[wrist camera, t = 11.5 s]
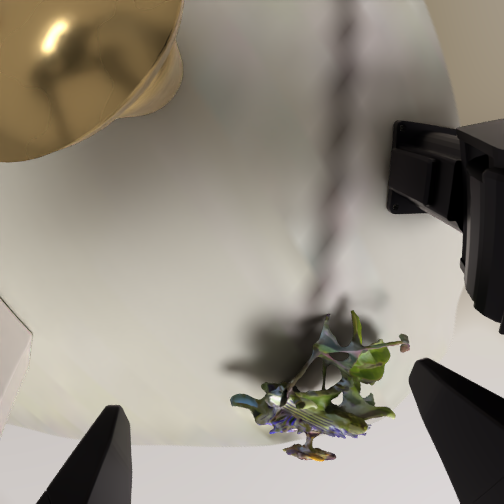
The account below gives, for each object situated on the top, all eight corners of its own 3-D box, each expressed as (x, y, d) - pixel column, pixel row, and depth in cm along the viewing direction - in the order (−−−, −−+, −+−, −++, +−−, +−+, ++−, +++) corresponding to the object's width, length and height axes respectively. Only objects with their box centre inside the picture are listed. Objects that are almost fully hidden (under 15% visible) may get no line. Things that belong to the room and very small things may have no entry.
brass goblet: (187, 18, 14) (180, -125, 2) (197, 115, 17) (195, 123, 5) (86, 39, 13) (-57, -29, 2) (95, 134, 16) (-56, 193, 4)
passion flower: (273, 343, 32) (210, 431, 22) (313, 257, 26) (242, 352, 16) (369, 392, 29) (334, 494, 19) (431, 318, 23) (422, 441, 13)
